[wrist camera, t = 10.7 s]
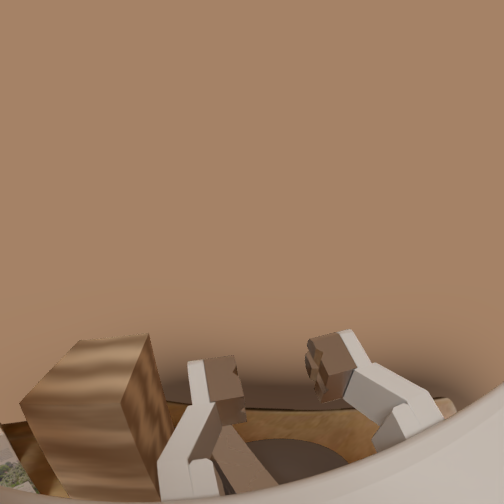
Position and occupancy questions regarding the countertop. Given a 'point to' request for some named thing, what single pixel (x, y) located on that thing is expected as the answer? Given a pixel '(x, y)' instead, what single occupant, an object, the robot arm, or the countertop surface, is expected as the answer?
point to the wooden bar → (238, 464)
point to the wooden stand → (103, 420)
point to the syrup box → (13, 468)
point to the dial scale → (294, 459)
